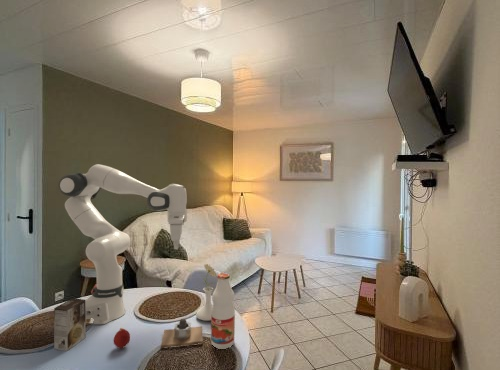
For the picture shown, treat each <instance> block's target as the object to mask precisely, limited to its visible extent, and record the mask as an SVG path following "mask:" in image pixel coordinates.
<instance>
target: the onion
mask: <svg viewBox="0 0 500 370" xmlns="http://www.w3.org/2000/svg"><path fill="white" fill-rule="evenodd" d="M130 340H131V334H130V332H129V331H128V330H127V329H125V328H123V327H120V328H119V330H118V331H117V332H116V333H115V335H114V337H113V345H114V346H115V347H117V348H119V349H123V348H125V347H127V345H129V343H130Z"/></svg>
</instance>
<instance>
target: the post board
mask: <svg viewBox="0 0 500 370" xmlns="http://www.w3.org/2000/svg"><path fill="white" fill-rule="evenodd" d="M186 322H187V319H186V318H181V319H180V320H179V322H178V323H179V329H185V328H186ZM203 337H204V336H203V326H193V327H192V326H191V336H190V337H189V338H187V339H186V340H177V339H175V338H174V328H172V329H171V328H170V329H164V330H163V334H162V339H161V344H160V349H161V348H164V347H171V346H178V345H192V344H198V343H203V341H204V340H203V339H204V338H203ZM203 344H204V343H203Z"/></svg>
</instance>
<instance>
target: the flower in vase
mask: <svg viewBox="0 0 500 370" xmlns="http://www.w3.org/2000/svg"><path fill="white" fill-rule="evenodd" d="M203 266H204V269H205V271H206V272H207V274H206V277H205V278H203V279H202V280H203V282H204V283H205V285H206V286H205V287H203V288H202V290H203V291H204V294H205V303H204V305H203V306H201V307H200V308H199V309H198V310H197V312H196V314H195V316H196V317H197V319H199V321H200V320H202V321H204V322H205V321H207V322H208V321H211V311H212V306H213V303H212V301H211V300H212V294H213V292H214V290H215V289H214V287H212V286H210V285H211V284H213V282H210V283H208V282H207V278H208V275H211V276H212V277H217V273H216V271H215V268H213V267H212V266H211V265H210V264H208V263H205V264H203Z"/></svg>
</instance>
